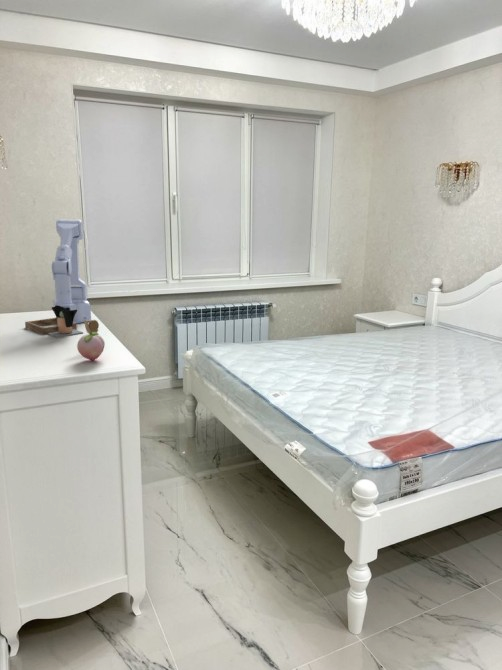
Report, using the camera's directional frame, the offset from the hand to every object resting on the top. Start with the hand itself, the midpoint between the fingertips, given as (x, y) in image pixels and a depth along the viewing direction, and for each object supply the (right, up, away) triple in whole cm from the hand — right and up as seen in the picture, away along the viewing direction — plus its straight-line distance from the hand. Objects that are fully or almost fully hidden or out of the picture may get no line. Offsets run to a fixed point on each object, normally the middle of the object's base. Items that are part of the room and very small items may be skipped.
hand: (65, 325), depth 197 cm
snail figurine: (+17, -9, -19) cm, 27 cm away
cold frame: (-9, -1, +9) cm, 13 cm away
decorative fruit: (+21, -12, -33) cm, 41 cm away
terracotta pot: (0, -3, +1) cm, 3 cm away
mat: (0, -3, +1) cm, 3 cm away
